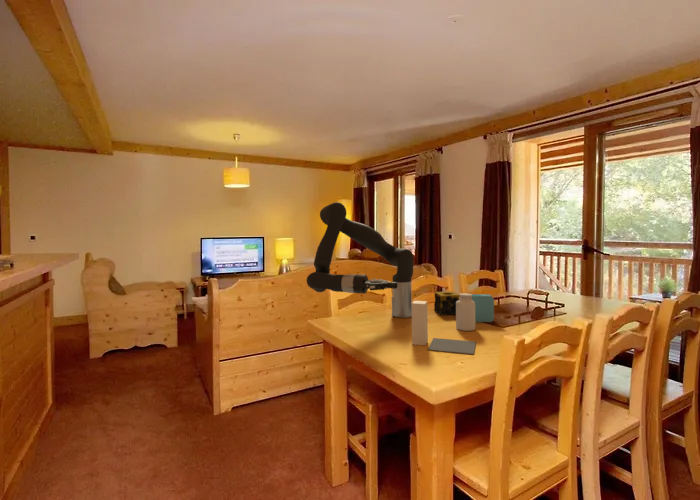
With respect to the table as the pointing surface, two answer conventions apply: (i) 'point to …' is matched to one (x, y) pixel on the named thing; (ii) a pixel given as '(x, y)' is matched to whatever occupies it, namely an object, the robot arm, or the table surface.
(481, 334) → the table surface
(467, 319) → the pill bottle
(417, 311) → the cream pillar
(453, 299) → the black and yellow cube
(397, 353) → the table surface
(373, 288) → the robot arm
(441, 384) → the table surface
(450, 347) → the mat
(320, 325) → the table surface
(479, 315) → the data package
